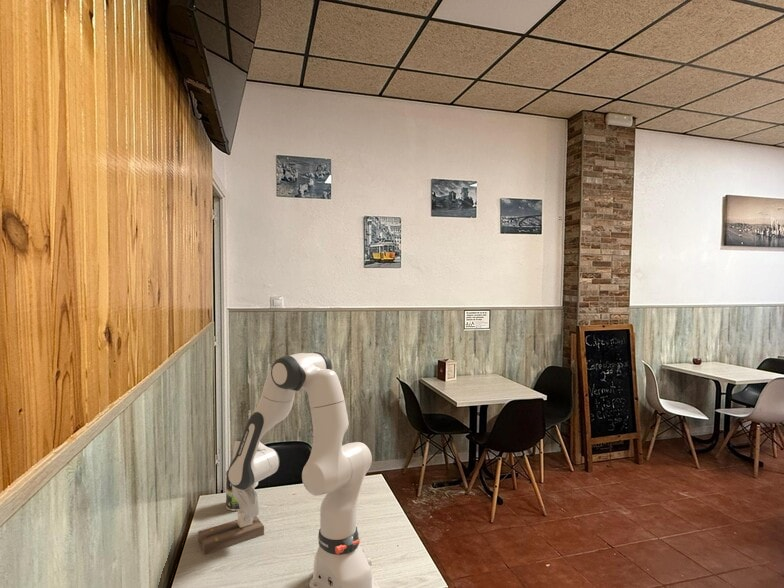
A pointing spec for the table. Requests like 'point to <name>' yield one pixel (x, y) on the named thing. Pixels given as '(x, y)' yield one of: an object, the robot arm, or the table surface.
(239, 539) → the brown slider board
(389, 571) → the table surface
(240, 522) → the fader tab
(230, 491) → the coffee can
